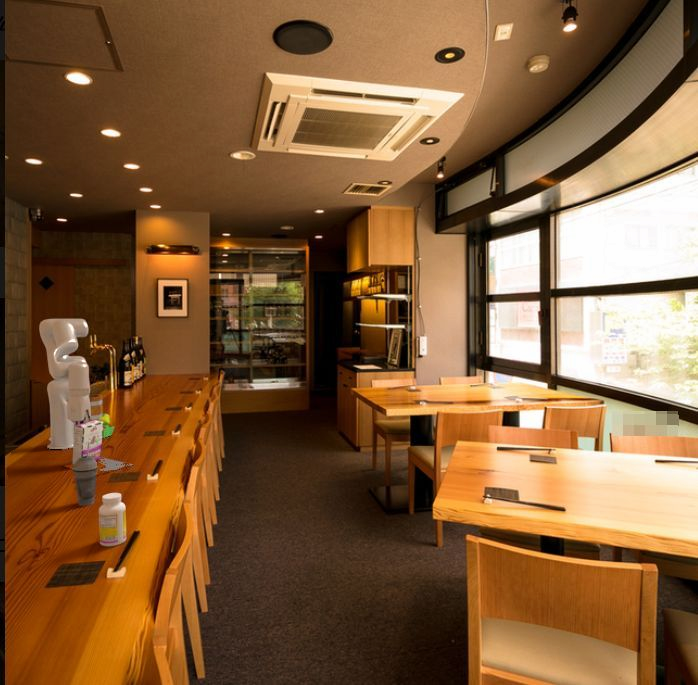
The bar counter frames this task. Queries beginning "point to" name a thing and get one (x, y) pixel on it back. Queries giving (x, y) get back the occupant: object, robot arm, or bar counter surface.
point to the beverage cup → (85, 479)
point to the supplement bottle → (112, 520)
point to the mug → (96, 407)
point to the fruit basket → (106, 425)
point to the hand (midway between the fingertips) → (80, 436)
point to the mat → (111, 464)
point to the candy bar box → (88, 440)
